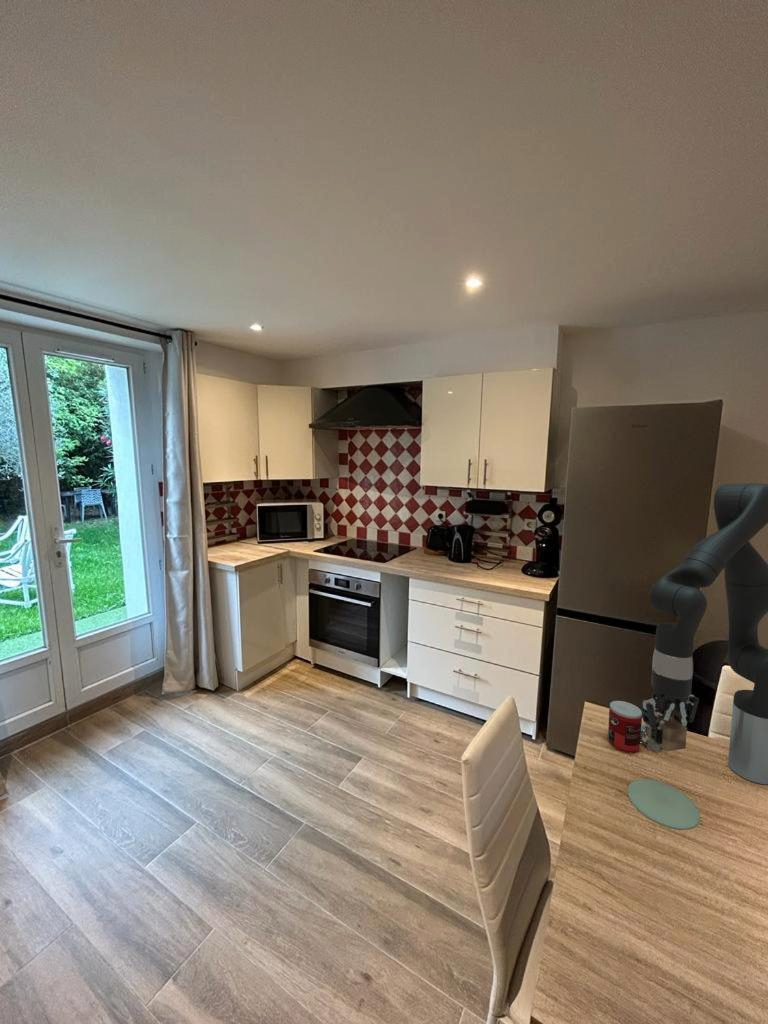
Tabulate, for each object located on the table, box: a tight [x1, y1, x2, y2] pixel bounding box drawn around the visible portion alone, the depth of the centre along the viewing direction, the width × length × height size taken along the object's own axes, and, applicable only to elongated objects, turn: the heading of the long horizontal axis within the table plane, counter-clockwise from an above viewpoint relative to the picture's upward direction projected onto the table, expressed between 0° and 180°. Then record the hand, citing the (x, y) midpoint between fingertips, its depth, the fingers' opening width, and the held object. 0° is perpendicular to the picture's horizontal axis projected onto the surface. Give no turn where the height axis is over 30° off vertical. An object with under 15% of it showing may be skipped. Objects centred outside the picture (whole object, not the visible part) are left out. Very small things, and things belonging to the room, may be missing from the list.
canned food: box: [607, 700, 643, 754], centre depth 118 cm, size 8×8×11 cm
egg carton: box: [640, 723, 661, 753], centre depth 120 cm, size 11×8×4 cm
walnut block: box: [648, 715, 688, 752], centre depth 96 cm, size 5×5×5 cm
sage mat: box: [627, 778, 701, 831], centre depth 98 cm, size 14×14×1 cm
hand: (666, 740), depth 96 cm, fingers closed on walnut block, 5 cm apart
